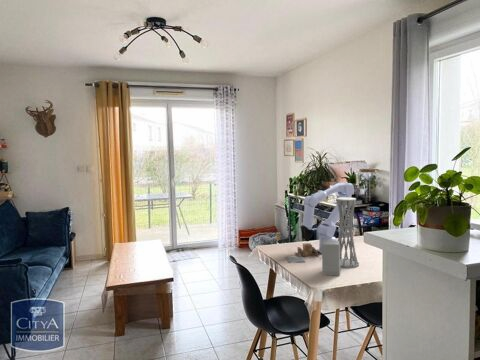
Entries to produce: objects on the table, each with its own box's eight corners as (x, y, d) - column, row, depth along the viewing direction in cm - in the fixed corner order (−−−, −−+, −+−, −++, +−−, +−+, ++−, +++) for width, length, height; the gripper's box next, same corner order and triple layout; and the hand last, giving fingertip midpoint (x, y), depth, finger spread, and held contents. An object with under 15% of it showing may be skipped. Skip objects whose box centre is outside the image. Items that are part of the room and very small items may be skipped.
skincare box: (340, 272, 174) (340, 240, 173) (339, 276, 167) (339, 244, 166) (322, 270, 177) (323, 239, 176) (321, 275, 170) (321, 242, 169)
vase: (351, 259, 194) (352, 196, 192) (363, 267, 181) (365, 199, 178) (328, 261, 192) (328, 197, 189) (339, 269, 179) (339, 200, 176)
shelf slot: (313, 251, 210) (313, 246, 210) (317, 256, 200) (317, 251, 200) (297, 252, 210) (297, 247, 210) (301, 257, 200) (301, 251, 200)
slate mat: (301, 257, 199) (301, 256, 199) (305, 262, 190) (305, 261, 190) (285, 257, 199) (285, 257, 199) (288, 262, 190) (288, 261, 190)
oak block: (310, 253, 207) (310, 243, 207) (312, 255, 203) (312, 245, 202) (302, 253, 207) (302, 243, 207) (304, 255, 203) (304, 245, 202)
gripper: (299, 214, 211) (296, 236, 211) (304, 217, 197) (301, 241, 197) (310, 215, 211) (307, 238, 212) (316, 219, 197) (313, 243, 197)
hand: (305, 239), depth 204 cm, fingers open, 7 cm apart
